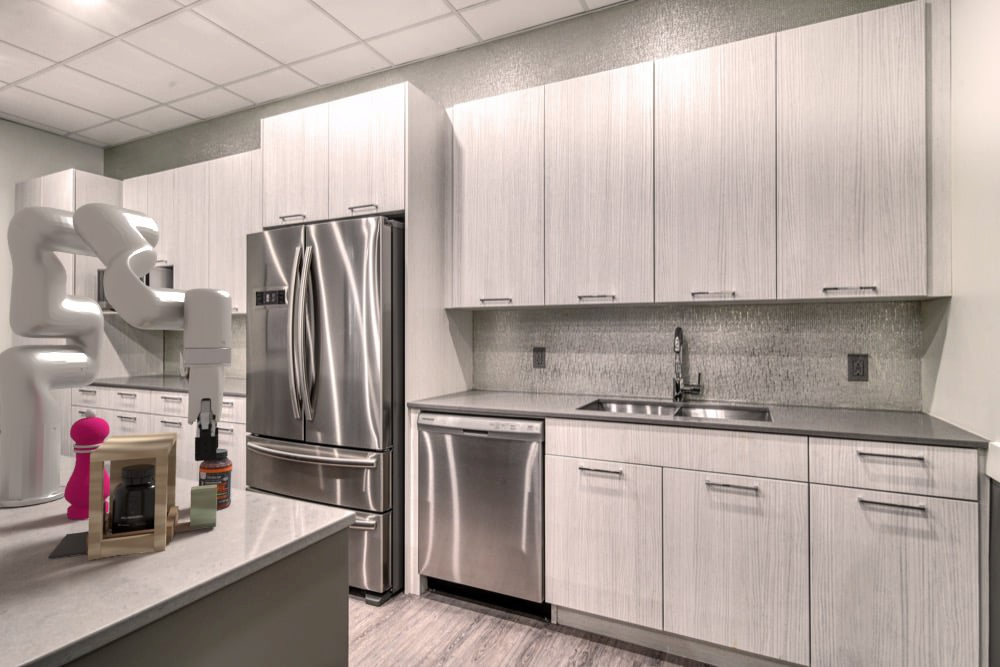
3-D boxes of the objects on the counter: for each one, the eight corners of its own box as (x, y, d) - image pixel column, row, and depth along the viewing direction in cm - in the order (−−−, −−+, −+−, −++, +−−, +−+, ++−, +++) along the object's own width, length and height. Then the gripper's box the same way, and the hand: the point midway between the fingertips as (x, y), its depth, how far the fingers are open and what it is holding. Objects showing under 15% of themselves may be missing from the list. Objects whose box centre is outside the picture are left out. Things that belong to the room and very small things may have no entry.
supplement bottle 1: (122, 548, 86) (124, 474, 86) (103, 539, 90) (105, 467, 90) (167, 535, 92) (169, 465, 92) (147, 527, 96) (149, 460, 96)
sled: (102, 528, 93) (103, 487, 94) (217, 515, 101) (217, 478, 101) (85, 552, 83) (87, 507, 83) (214, 535, 91) (215, 494, 91)
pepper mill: (85, 522, 97) (88, 412, 98) (53, 518, 99) (56, 410, 99) (121, 509, 105) (123, 407, 105) (90, 506, 106) (92, 405, 106)
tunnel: (110, 526, 96) (112, 435, 96) (175, 518, 100) (177, 432, 100) (87, 560, 81) (90, 454, 82) (164, 550, 86) (167, 449, 86)
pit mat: (66, 536, 91) (66, 534, 91) (100, 532, 93) (100, 530, 93) (48, 558, 82) (48, 556, 82) (85, 554, 84) (85, 551, 84)
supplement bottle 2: (201, 513, 104) (203, 454, 104) (194, 505, 108) (195, 449, 108) (235, 507, 107) (236, 451, 108) (226, 500, 112) (228, 446, 112)
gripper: (187, 357, 102) (186, 447, 101) (178, 360, 86) (177, 467, 86) (231, 356, 105) (231, 444, 105) (230, 359, 89) (230, 462, 89)
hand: (207, 454), depth 95 cm, fingers open, 9 cm apart
